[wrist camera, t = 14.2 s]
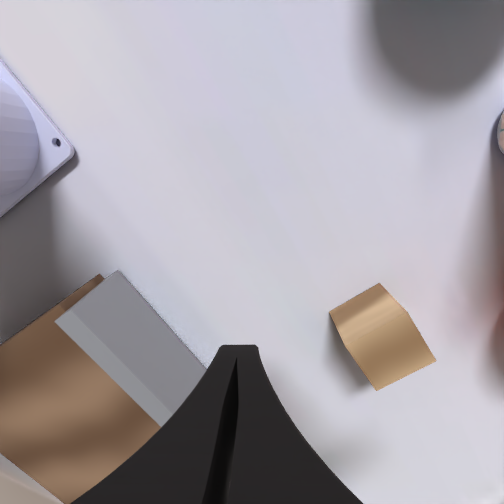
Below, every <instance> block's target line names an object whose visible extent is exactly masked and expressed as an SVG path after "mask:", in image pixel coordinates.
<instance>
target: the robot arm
mask: <svg viewBox="0 0 504 504" xmlns="http://www.w3.org/2000/svg"><path fill="white" fill-rule="evenodd" d="M57 139H59V140H60V142H61V145H60V147H59V146H57V144H56V140H57ZM74 152H75V151H74V148H73V146H72V144H71V143H70V142H69V141H68V140H67V138H66V137H65V136H64V135H63V134H62V132H61V131H60V130H59V129H58V127H57V126H56V125H55V124H54V123H53V121H52V120H51V119H50V118H49V117H48V115H47V114H46V113H45V112H44V110H43V109H42V108H41V107H40V106H39V104H38V103H37V102H36V101H35V100H34V98H33V97H32V96H31V95H30V93H29V92H28V91H27V90H26V89H25V87H24V86H23V85H22V84H21V83H20V81H19V80H18V79H17V78H16V76H15V75H14V74H13V73H12V72H11V70H10V69H9V68H8V67H7V66H6V64H5V63H4V62H3V61H2V59H1V58H0V217H2V216H3V215H4V214H5V213H6V212H8V211H9V210H10V209H11V208H12V207H13V206H15V205H16V204H17V203H18V202H19V201H21V200H22V199H23V198H24V197H25V196H27V195H28V194H29V193H30V192H31V191H33V190H34V189H35V188H36V187H37V186H39V185H40V184H41V183H42V182H43V181H45V180H46V179H47V178H48V177H49V176H51V175H52V174H53V173H54V172H55V171H56V170H58V169H59V168H60V167H61V166H62V165H64V164H65V163H66V162H67V161H68V160H70V159H71V158H72V157H73V156H74ZM230 481H231V482H230ZM70 504H363V503H362V502H361V501H360V500H359V499H358V498H357V497H356V496H355V495H354V494H353V493H352V492H351V491H350V490H349V489H348V488H347V487H346V486H345V485H344V484H343V483H342V482H341V481H340V480H339V478H338V477H337V476H336V475H335V474H334V473H333V472H332V471H331V470H330V469H329V468H328V466H327V465H326V464H325V463H324V462H323V460H322V459H321V458H320V457H319V456H318V454H317V453H316V452H315V451H314V450H313V448H312V447H311V446H310V445H309V444H308V442H307V441H306V440H305V438H304V437H303V436H302V434H301V433H300V431H299V430H298V429H297V427H296V426H295V424H294V423H293V421H292V420H291V418H290V417H289V415H288V414H287V412H286V411H285V409H284V407H283V406H282V404H281V402H280V400H279V399H278V397H277V395H276V393H275V391H274V389H273V387H272V385H271V383H270V381H269V379H268V377H267V375H266V372H265V370H264V367H263V364H262V362H261V359H260V355H259V350H258V347H257V346H256V345H222V346H221V347H220V348H219V350H218V352H217V354H216V355H215V357H214V359H213V361H212V362H211V364H210V366H209V367H208V369H207V370H206V372H205V373H204V375H203V376H202V378H201V379H200V381H199V382H198V384H197V385H196V386H195V388H194V389H193V390H192V392H191V393H190V394H189V396H188V397H187V398H186V399H185V401H184V402H183V403H182V405H181V406H180V407H179V408H178V409H177V410H176V412H175V413H174V414H173V415H172V416H171V417H170V418H169V420H168V421H167V422H166V423H165V424H164V425H163V426H162V427H161V428H160V429H159V430H158V431H157V432H156V433H155V434H154V435H153V436H152V437H151V438H150V439H149V440H148V441H147V442H146V443H145V444H144V445H143V446H142V447H141V448H140V449H139V450H137V451H136V452H135V453H134V454H133V455H132V456H131V457H129V458H128V459H127V460H126V461H125V462H123V463H122V464H121V465H120V466H119V467H118V468H116V469H115V470H114V471H113V472H112V473H110V474H109V475H108V476H107V477H105V478H104V479H103V480H102V481H100V482H99V483H98V484H96V485H95V486H94V487H92V488H91V489H90V490H88V491H87V492H85V493H84V494H83V495H81V496H80V497H78V498H77V499H76V500H74V501H73V502H71V503H70Z"/></svg>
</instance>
